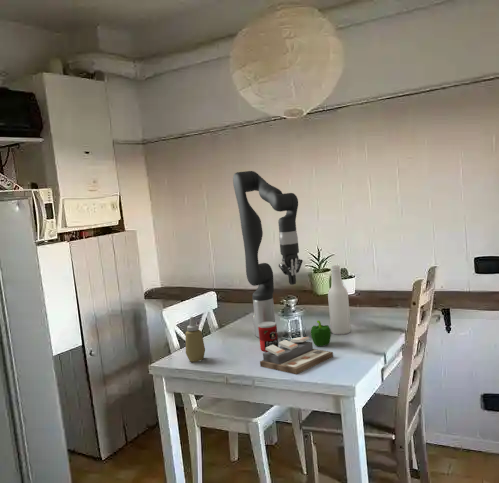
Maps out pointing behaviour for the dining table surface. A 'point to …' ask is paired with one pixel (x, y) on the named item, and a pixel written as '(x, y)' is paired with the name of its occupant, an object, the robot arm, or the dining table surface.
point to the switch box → (295, 358)
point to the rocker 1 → (275, 350)
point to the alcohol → (338, 304)
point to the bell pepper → (321, 334)
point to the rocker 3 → (299, 339)
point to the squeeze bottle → (194, 342)
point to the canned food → (267, 335)
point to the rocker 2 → (288, 344)
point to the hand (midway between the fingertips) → (292, 284)
